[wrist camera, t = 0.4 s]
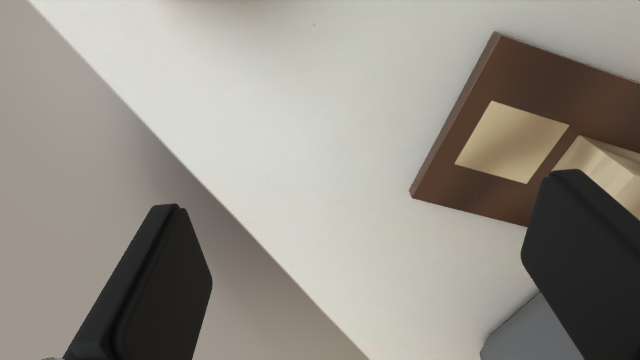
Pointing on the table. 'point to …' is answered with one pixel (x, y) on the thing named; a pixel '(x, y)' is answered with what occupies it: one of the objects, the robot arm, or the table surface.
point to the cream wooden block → (607, 169)
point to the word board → (522, 128)
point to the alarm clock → (531, 336)
